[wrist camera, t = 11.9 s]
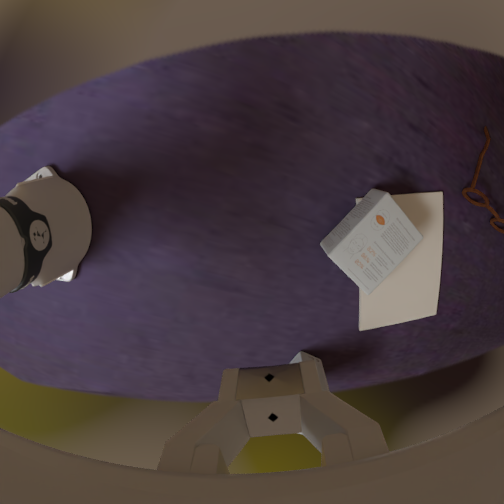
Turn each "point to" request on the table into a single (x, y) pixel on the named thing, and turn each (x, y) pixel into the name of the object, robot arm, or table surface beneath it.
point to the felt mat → (409, 269)
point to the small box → (371, 240)
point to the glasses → (480, 191)
